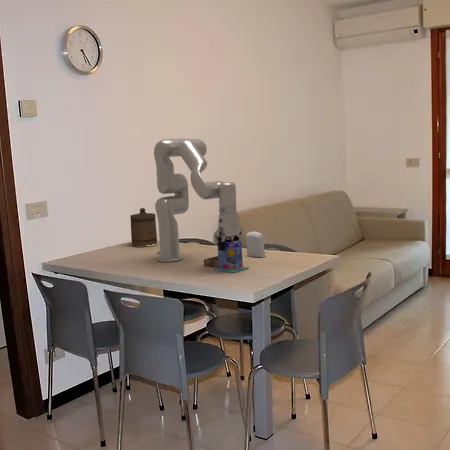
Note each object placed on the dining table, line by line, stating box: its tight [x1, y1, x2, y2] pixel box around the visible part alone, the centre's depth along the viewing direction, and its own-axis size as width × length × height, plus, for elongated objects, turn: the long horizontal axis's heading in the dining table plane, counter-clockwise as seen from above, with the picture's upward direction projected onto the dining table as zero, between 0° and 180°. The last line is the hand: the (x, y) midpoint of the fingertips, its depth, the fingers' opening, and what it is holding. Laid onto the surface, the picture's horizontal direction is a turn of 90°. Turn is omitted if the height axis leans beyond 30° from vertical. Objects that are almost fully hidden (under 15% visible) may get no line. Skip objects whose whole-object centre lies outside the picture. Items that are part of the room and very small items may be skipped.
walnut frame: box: [203, 255, 219, 268], centre depth 261 cm, size 11×15×3 cm
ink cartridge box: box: [216, 236, 244, 270], centre depth 247 cm, size 10×6×14 cm, turn 60°
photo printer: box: [245, 231, 266, 258], centre depth 275 cm, size 10×4×12 cm, turn 39°
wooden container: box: [130, 207, 158, 247], centre depth 326 cm, size 15×15×22 cm
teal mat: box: [213, 266, 249, 274], centre depth 248 cm, size 12×10×1 cm
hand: (229, 248), depth 247 cm, fingers open, 9 cm apart
